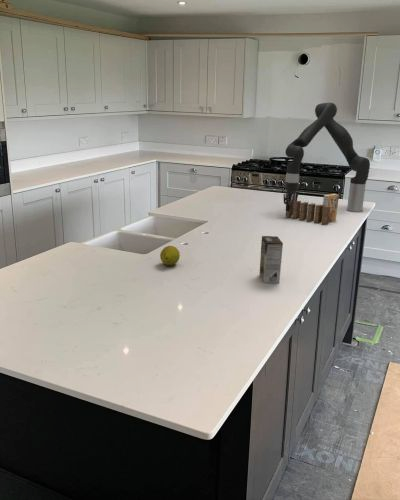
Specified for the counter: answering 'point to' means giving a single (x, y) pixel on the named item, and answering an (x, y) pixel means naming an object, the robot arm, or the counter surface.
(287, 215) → the domino
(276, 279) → the coffee box
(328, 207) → the domino
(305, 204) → the domino
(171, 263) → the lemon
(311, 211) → the domino
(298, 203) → the domino
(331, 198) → the candy box
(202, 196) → the counter surface
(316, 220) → the domino
